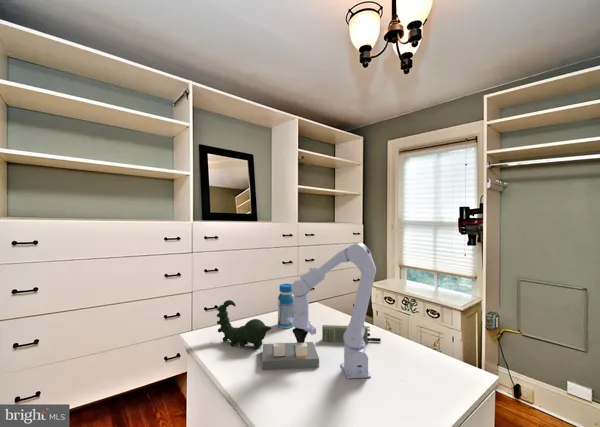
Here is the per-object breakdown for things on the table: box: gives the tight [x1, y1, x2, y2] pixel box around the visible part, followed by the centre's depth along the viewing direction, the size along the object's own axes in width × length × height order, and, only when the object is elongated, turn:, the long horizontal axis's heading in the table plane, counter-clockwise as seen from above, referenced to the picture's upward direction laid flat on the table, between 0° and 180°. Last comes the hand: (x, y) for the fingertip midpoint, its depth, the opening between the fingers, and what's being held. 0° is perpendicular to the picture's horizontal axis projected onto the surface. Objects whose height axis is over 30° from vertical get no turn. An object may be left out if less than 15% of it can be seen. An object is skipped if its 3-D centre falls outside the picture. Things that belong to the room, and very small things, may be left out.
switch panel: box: [261, 341, 320, 371], centre depth 106 cm, size 14×20×3 cm
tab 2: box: [295, 342, 307, 357], centre depth 103 cm, size 3×4×4 cm
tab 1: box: [273, 342, 286, 356], centre depth 103 cm, size 3×4×4 cm
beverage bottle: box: [277, 283, 294, 329], centre depth 140 cm, size 8×8×20 cm
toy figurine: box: [216, 299, 272, 349], centre depth 118 cm, size 9×19×25 cm
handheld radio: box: [321, 324, 382, 344], centre depth 122 cm, size 7×3×25 cm
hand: (300, 347), depth 106 cm, fingers closed
